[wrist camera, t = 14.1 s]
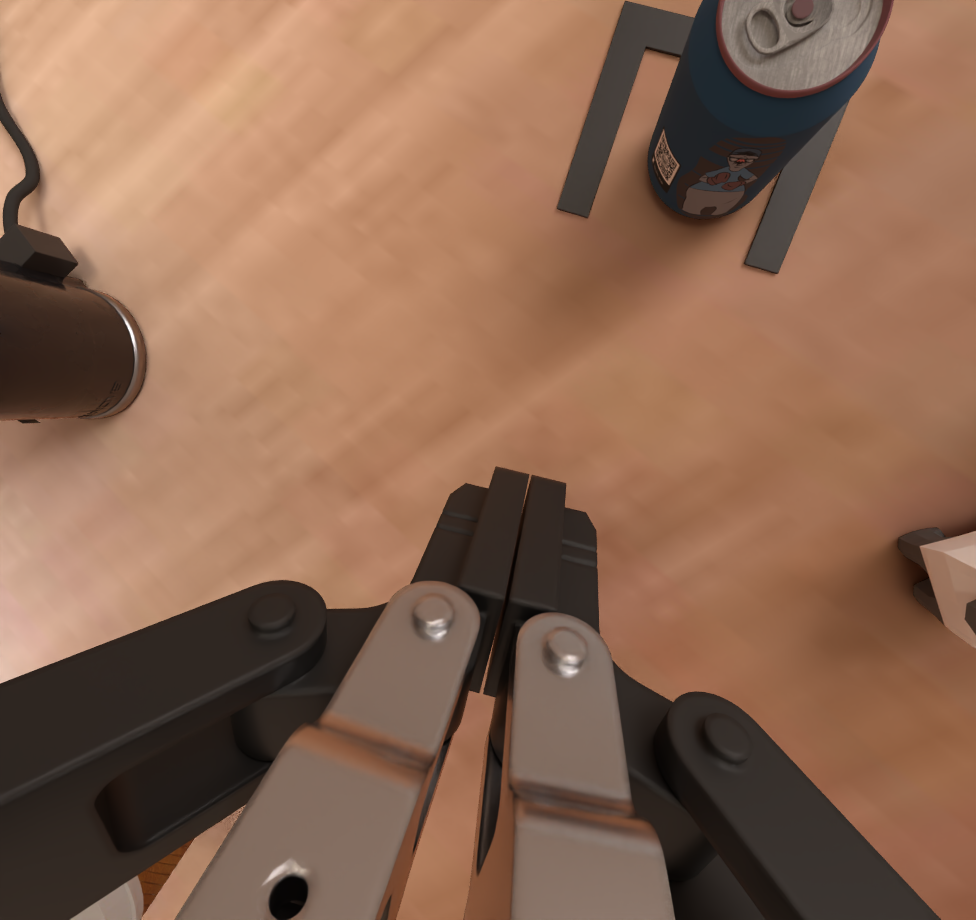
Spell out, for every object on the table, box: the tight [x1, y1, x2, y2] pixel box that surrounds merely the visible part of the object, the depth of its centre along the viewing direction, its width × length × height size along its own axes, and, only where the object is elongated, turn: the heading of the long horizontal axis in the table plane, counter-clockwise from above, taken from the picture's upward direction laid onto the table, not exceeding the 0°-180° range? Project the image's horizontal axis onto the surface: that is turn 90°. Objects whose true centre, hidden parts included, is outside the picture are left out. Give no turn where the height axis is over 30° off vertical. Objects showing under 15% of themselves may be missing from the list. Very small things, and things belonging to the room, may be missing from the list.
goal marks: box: [557, 1, 850, 274], centre depth 28 cm, size 12×14×1 cm
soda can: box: [648, 0, 894, 219], centre depth 23 cm, size 7×7×12 cm
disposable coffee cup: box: [70, 839, 194, 920], centre depth 34 cm, size 10×10×12 cm
